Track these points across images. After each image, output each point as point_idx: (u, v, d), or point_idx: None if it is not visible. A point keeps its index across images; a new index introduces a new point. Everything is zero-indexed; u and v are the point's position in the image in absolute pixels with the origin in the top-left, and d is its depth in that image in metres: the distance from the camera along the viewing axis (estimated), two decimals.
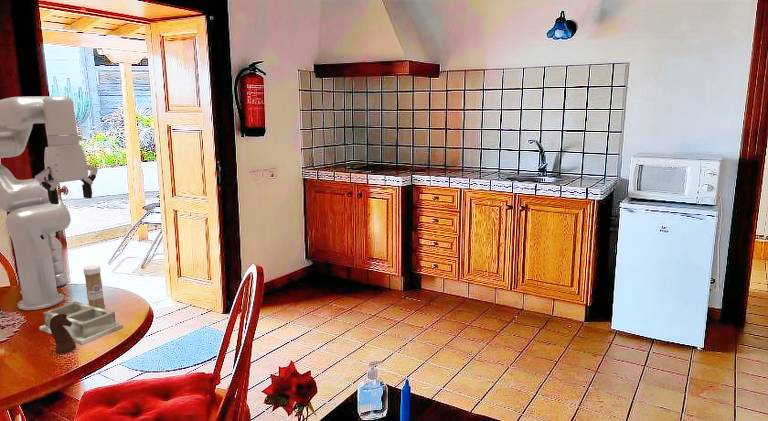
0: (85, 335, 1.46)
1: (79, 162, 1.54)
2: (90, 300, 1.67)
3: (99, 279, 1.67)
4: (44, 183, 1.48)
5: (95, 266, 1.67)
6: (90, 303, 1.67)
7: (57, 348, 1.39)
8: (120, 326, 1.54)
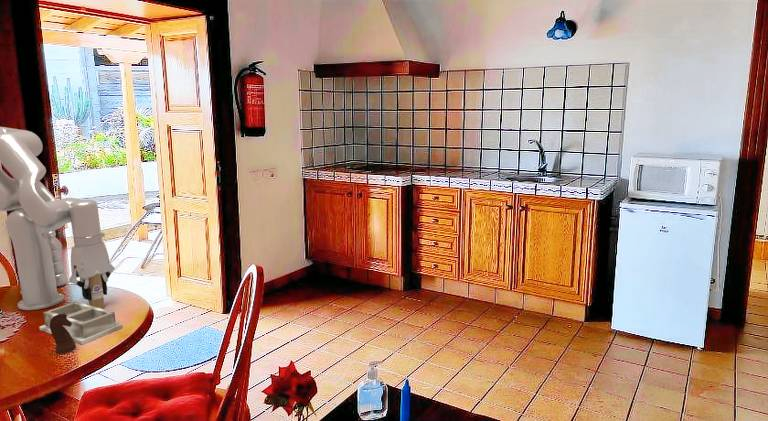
0: (85, 335, 1.46)
1: (102, 258, 1.67)
2: (90, 300, 1.67)
3: (99, 279, 1.67)
4: (79, 283, 1.63)
5: None
6: (90, 303, 1.67)
7: (57, 348, 1.39)
8: (120, 326, 1.54)
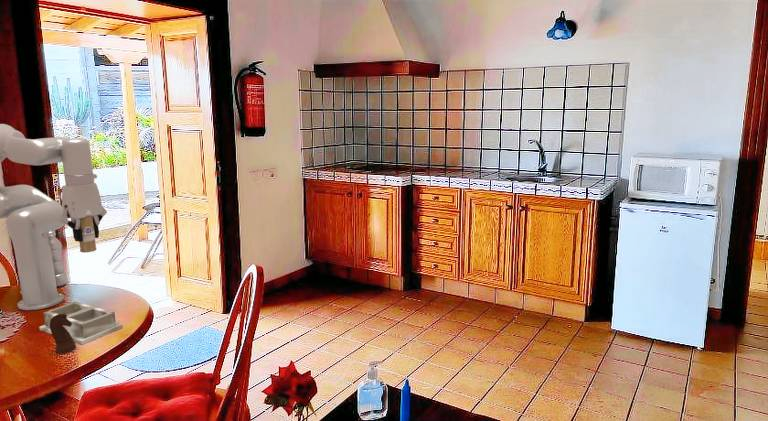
0: (85, 335, 1.46)
1: (94, 199, 1.63)
2: (81, 242, 1.63)
3: (91, 221, 1.64)
4: (70, 223, 1.59)
5: None
6: (81, 245, 1.63)
7: (57, 348, 1.39)
8: (120, 326, 1.54)
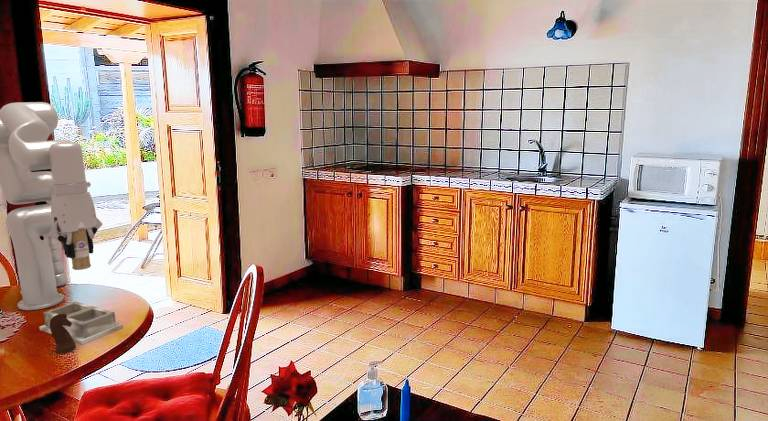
0: (85, 335, 1.46)
1: (87, 211, 1.46)
2: (74, 258, 1.45)
3: (84, 234, 1.46)
4: (60, 237, 1.41)
5: None
6: (74, 262, 1.46)
7: (57, 348, 1.39)
8: (120, 326, 1.54)
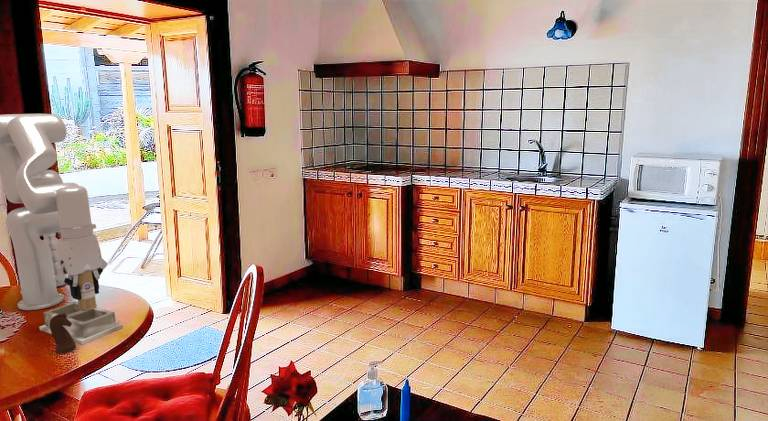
0: (85, 335, 1.46)
1: (93, 252, 1.48)
2: (80, 300, 1.48)
3: (90, 276, 1.48)
4: (67, 280, 1.44)
5: None
6: (80, 303, 1.48)
7: (57, 348, 1.39)
8: (120, 326, 1.54)
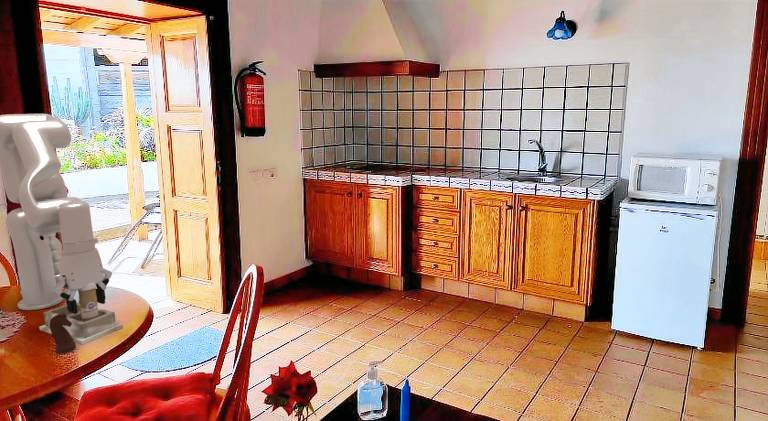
0: (85, 335, 1.46)
1: (95, 267, 1.49)
2: (83, 319, 1.49)
3: (94, 295, 1.50)
4: (63, 294, 1.43)
5: None
6: None
7: (57, 348, 1.39)
8: (120, 326, 1.54)
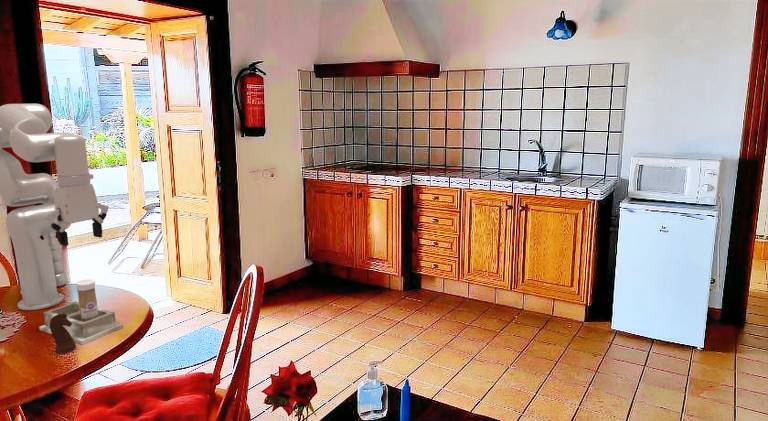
0: (85, 335, 1.46)
1: (90, 202, 1.50)
2: (83, 319, 1.49)
3: (93, 295, 1.50)
4: (54, 225, 1.44)
5: (89, 281, 1.50)
6: None
7: (57, 348, 1.39)
8: (120, 326, 1.54)
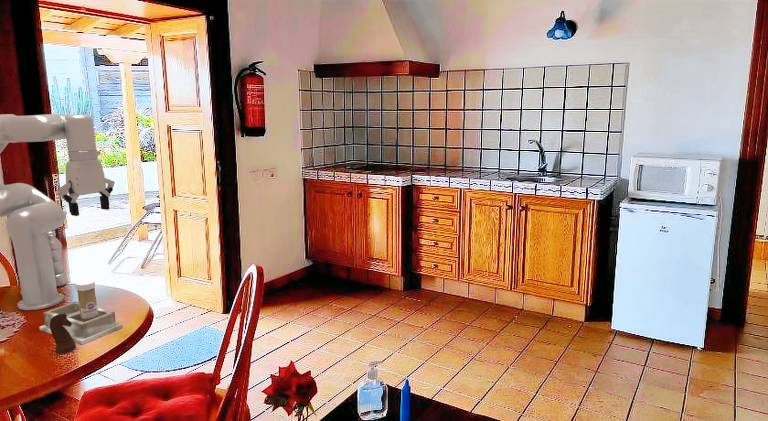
0: (85, 335, 1.46)
1: (98, 176, 1.64)
2: (83, 319, 1.49)
3: (93, 295, 1.50)
4: (66, 196, 1.57)
5: (89, 281, 1.50)
6: None
7: (57, 348, 1.39)
8: (120, 326, 1.54)
